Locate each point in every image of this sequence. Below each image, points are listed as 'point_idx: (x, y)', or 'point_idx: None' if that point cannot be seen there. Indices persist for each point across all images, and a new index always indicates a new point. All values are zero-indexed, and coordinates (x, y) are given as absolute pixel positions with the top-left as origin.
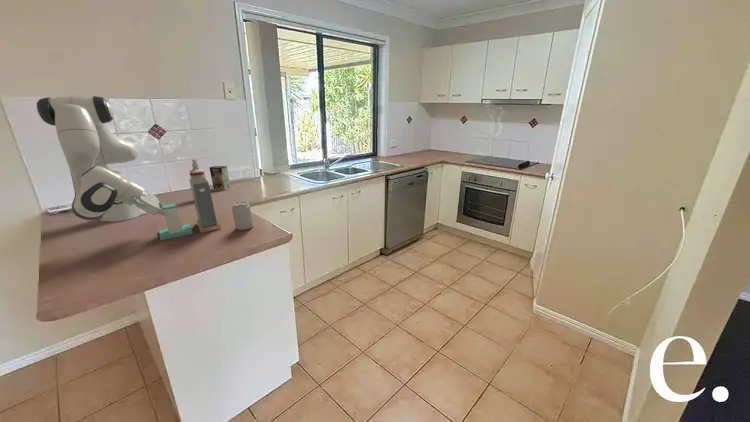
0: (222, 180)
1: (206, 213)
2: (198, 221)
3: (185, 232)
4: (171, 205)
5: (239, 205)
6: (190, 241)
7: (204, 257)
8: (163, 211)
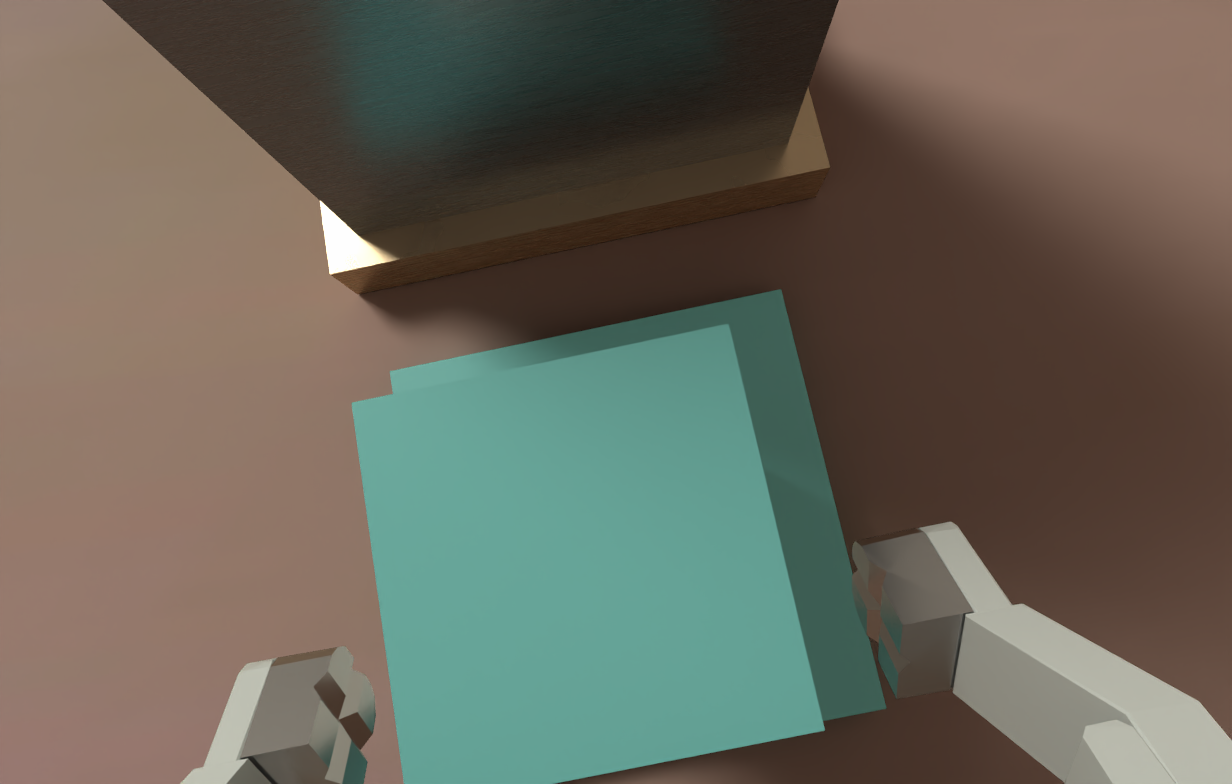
0: None
1: None
2: (428, 229)
3: (778, 379)
4: (576, 484)
5: None
6: (1087, 297)
7: None
8: (1080, 656)
